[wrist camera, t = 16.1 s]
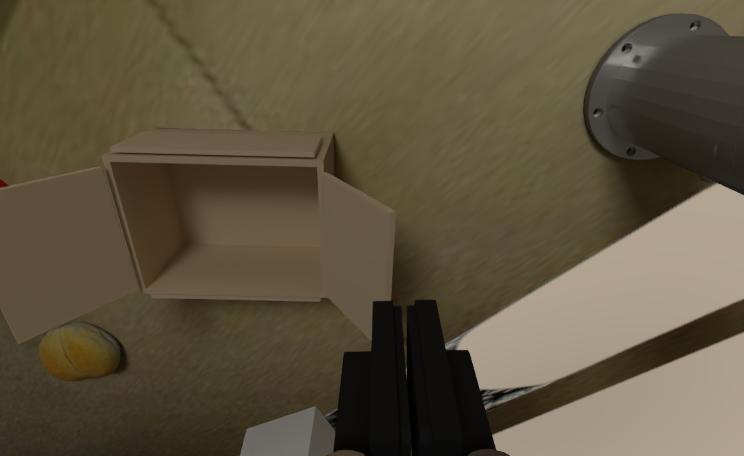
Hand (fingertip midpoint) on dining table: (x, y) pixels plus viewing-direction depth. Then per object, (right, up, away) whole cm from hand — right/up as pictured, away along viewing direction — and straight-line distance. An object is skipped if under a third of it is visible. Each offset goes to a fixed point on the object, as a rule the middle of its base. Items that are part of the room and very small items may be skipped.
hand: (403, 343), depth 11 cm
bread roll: (-38, -12, +41) cm, 57 cm away
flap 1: (-22, +3, +23) cm, 31 cm away
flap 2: (-5, +2, +23) cm, 24 cm away
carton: (-13, +7, +31) cm, 34 cm away
